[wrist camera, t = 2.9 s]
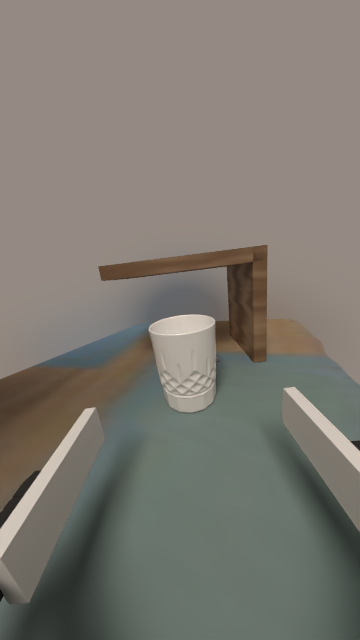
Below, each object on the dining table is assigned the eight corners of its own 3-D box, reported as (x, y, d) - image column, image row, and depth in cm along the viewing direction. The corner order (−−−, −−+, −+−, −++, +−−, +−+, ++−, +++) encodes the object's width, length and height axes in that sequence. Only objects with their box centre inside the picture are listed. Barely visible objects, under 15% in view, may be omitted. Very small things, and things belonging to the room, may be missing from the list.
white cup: (191, 370, 28) (185, 312, 26) (233, 392, 22) (229, 318, 20) (150, 395, 24) (137, 326, 21) (187, 431, 18) (175, 341, 15)
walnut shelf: (266, 361, 28) (267, 244, 24) (124, 376, 29) (98, 266, 24) (237, 332, 42) (234, 255, 38) (142, 343, 43) (127, 269, 38)
